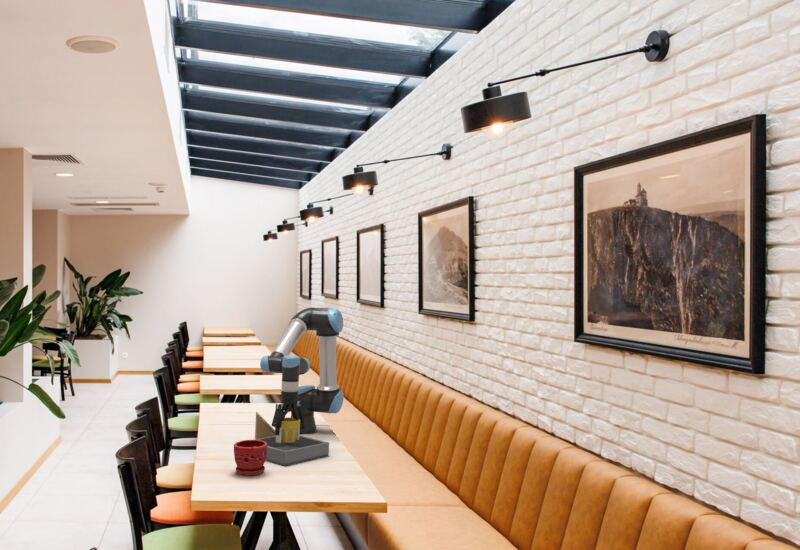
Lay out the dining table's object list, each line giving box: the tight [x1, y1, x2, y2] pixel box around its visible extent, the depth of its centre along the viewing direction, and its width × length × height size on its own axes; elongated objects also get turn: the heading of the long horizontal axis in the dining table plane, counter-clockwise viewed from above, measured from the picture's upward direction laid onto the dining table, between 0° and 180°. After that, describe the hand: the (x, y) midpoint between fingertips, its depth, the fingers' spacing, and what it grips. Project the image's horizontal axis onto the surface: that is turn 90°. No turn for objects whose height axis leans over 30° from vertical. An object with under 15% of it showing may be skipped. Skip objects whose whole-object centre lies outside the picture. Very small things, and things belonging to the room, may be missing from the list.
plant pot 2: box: [280, 417, 300, 443], centre depth 318 cm, size 10×10×10 cm
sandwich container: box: [254, 411, 276, 440], centre depth 338 cm, size 9×15×15 cm, turn 105°
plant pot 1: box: [233, 439, 267, 476], centre depth 287 cm, size 13×13×12 cm
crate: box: [248, 435, 330, 467], centre depth 318 cm, size 26×26×6 cm
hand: (287, 440), depth 317 cm, fingers closed on plant pot 2, 10 cm apart
